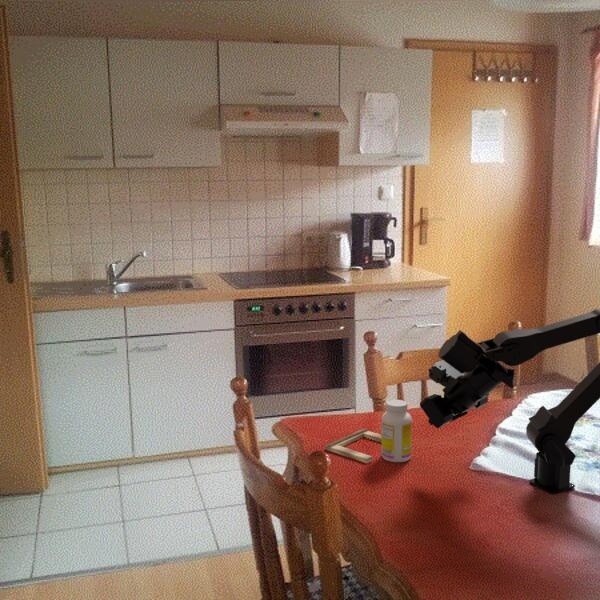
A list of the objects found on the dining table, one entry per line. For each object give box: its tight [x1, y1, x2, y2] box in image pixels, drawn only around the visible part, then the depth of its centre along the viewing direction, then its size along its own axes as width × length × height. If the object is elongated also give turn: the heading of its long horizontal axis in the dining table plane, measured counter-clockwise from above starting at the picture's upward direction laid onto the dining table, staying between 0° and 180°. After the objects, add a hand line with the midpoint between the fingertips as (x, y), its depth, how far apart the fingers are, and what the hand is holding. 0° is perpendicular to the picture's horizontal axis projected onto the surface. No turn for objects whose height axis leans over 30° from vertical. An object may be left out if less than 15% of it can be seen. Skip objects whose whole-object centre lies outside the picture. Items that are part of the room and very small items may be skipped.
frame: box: [324, 428, 382, 464], centre depth 167 cm, size 12×14×1 cm
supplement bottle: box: [381, 399, 413, 463], centre depth 160 cm, size 7×7×13 cm
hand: (430, 422), depth 153 cm, fingers closed
